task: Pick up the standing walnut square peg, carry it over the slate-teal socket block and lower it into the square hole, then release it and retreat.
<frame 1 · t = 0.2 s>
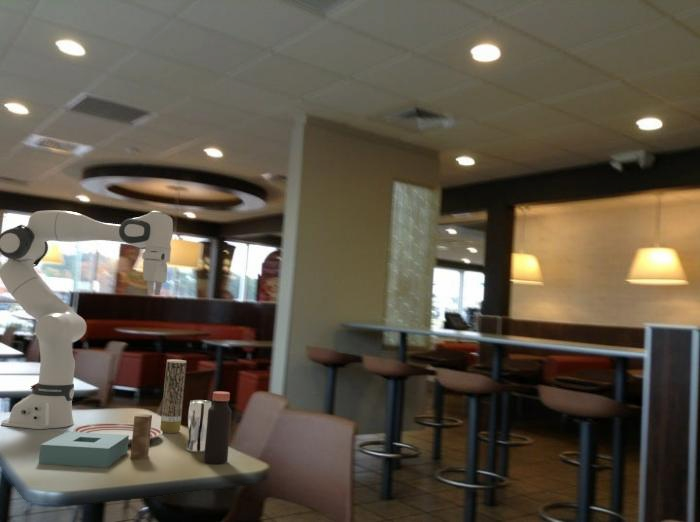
hand: (153, 294, 219), 48 cm above the table, fingers open, 8 cm apart
dinner plate: (117, 440, 199), on the table
walnut peg: (139, 457, 178), on the table
socket block: (85, 457, 174), on the table
silver drink can: (196, 450, 192), on the table
bottle: (215, 462, 179), on the table
paper tube: (169, 432, 216), on the table
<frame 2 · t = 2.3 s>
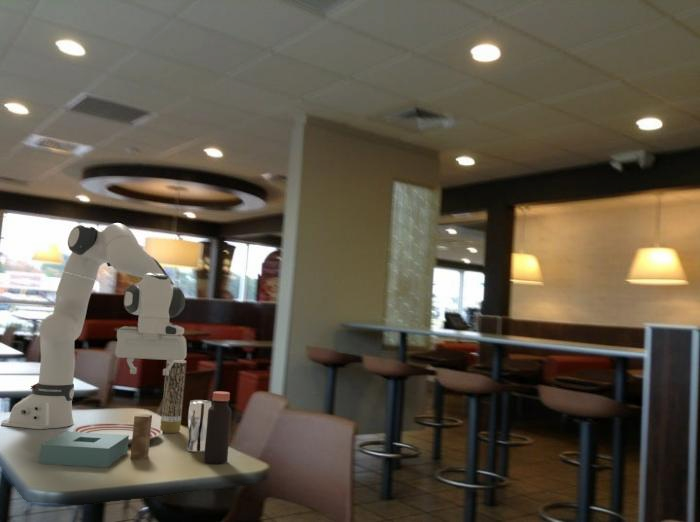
hand: (149, 374, 181), 24 cm above the table, fingers open, 8 cm apart
nothing on the table moved.
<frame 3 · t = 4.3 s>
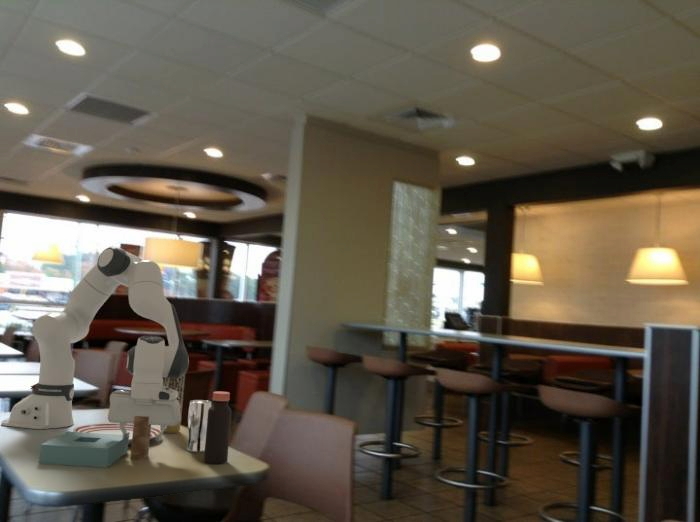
hand: (142, 439, 179), 5 cm above the table, fingers open, 8 cm apart
nothing on the table moved.
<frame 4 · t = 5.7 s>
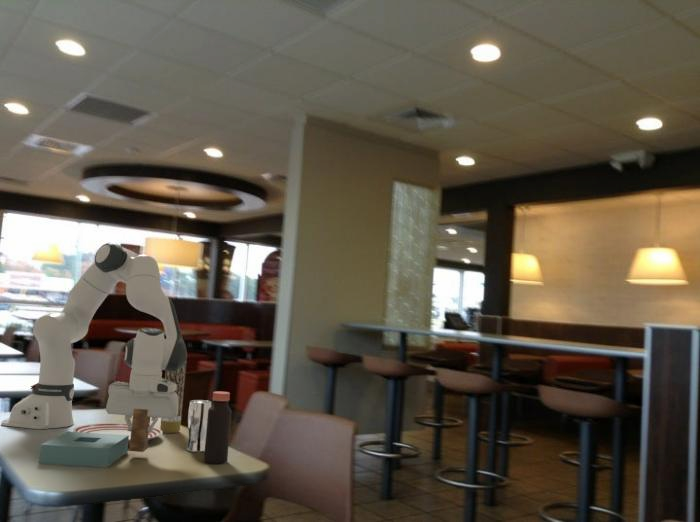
hand: (140, 431, 179), 7 cm above the table, fingers closed on walnut peg, 4 cm apart
walnut peg: (138, 449, 178), point 2 cm above the table, touching gripper
everything else where it was.
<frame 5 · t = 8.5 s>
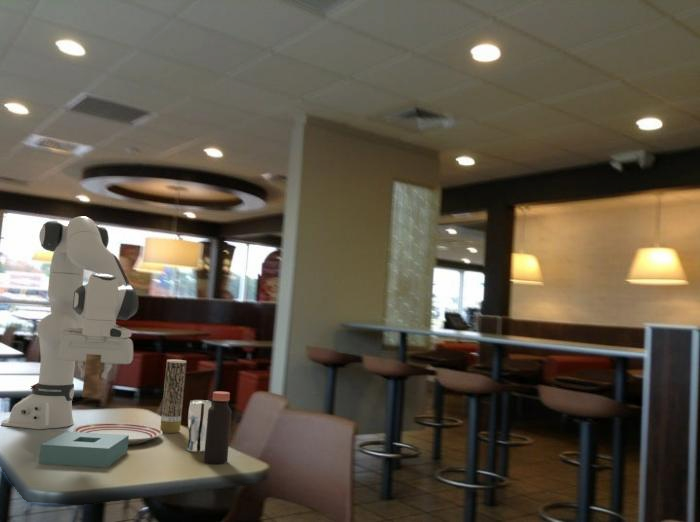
hand: (93, 378, 175), 22 cm above the table, fingers closed on walnut peg, 4 cm apart
walnut peg: (91, 396, 175), point 17 cm above the table, touching gripper
everything else where it was.
when the fingers open (7 cm above the table, at t = 11.5 s): walnut peg drops 2 cm, resting in socket block.
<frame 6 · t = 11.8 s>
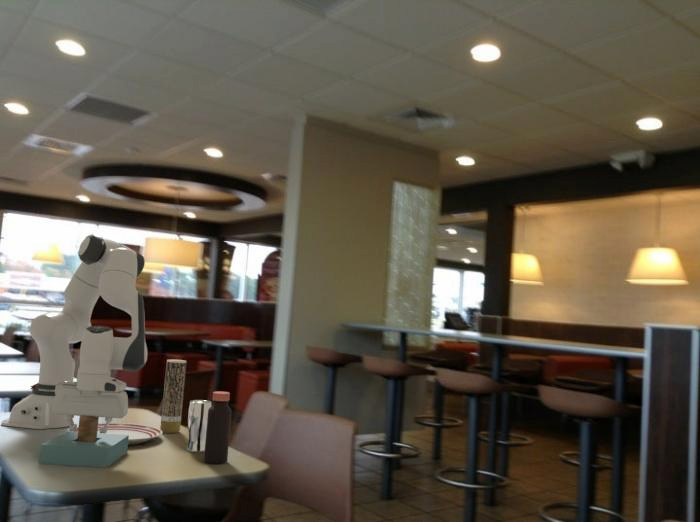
hand: (87, 432, 174), 7 cm above the table, fingers open, 7 cm apart
walnut peg: (85, 457, 174), resting in socket block
everything else where it was.
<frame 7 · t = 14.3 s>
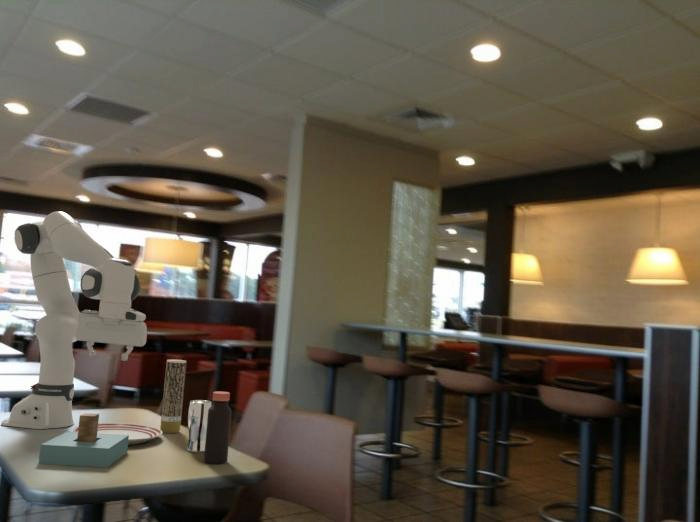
hand: (108, 358, 183), 27 cm above the table, fingers open, 8 cm apart
nothing on the table moved.
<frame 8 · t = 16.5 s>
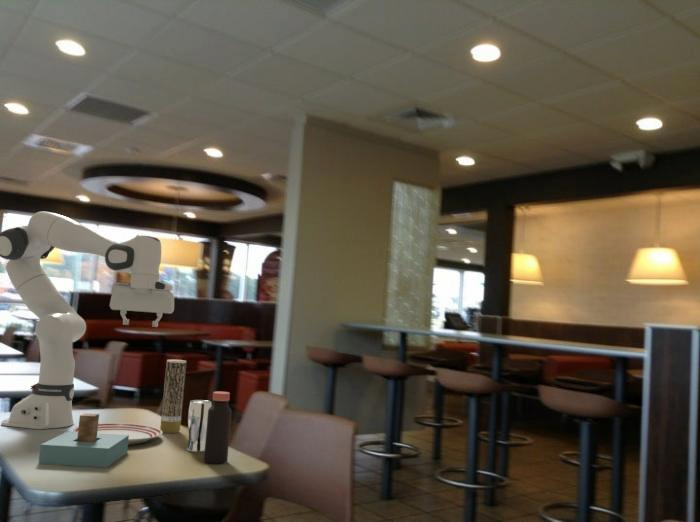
hand: (140, 325, 201), 37 cm above the table, fingers open, 8 cm apart
nothing on the table moved.
at the end: walnut peg 0.1 cm off-centre on the socket block, point 0.0 cm above the socket block's base; walnut peg tilted 0°; the gripper is holding nothing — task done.
